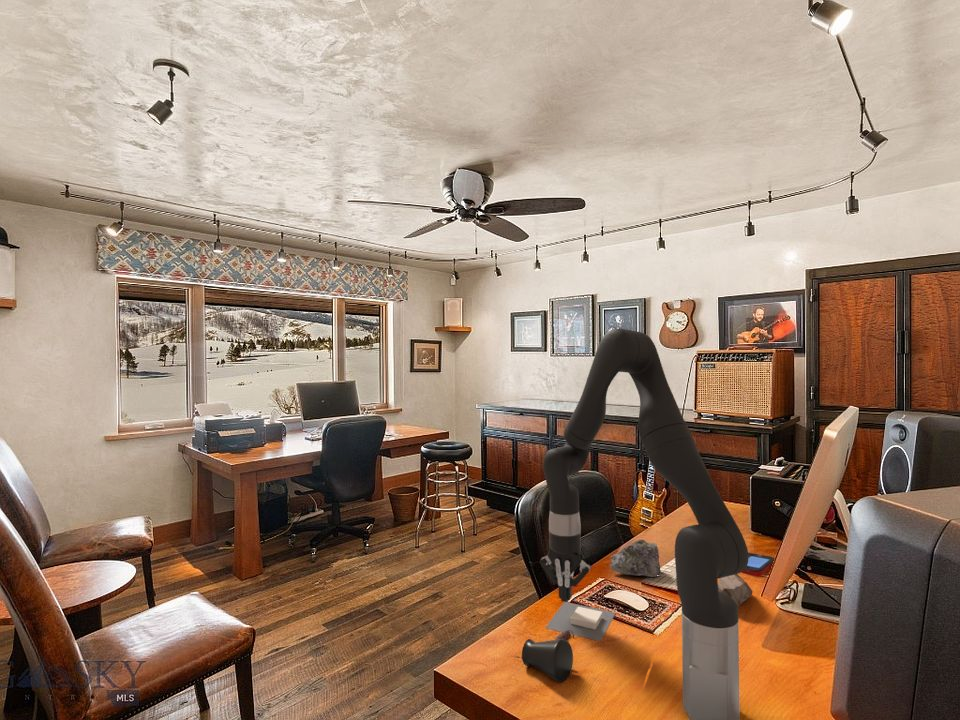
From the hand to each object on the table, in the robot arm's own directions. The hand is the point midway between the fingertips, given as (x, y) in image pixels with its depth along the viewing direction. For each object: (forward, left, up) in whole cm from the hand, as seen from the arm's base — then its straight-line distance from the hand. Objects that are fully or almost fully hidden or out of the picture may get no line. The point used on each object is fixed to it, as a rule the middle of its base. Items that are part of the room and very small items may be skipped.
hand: (565, 600), depth 126 cm
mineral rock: (+33, -10, -5) cm, 35 cm away
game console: (+54, -38, -5) cm, 66 cm away
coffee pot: (-17, -4, -5) cm, 18 cm away
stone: (+26, -36, -5) cm, 44 cm away
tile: (0, -2, -3) cm, 4 cm away
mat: (0, -4, -4) cm, 6 cm away
